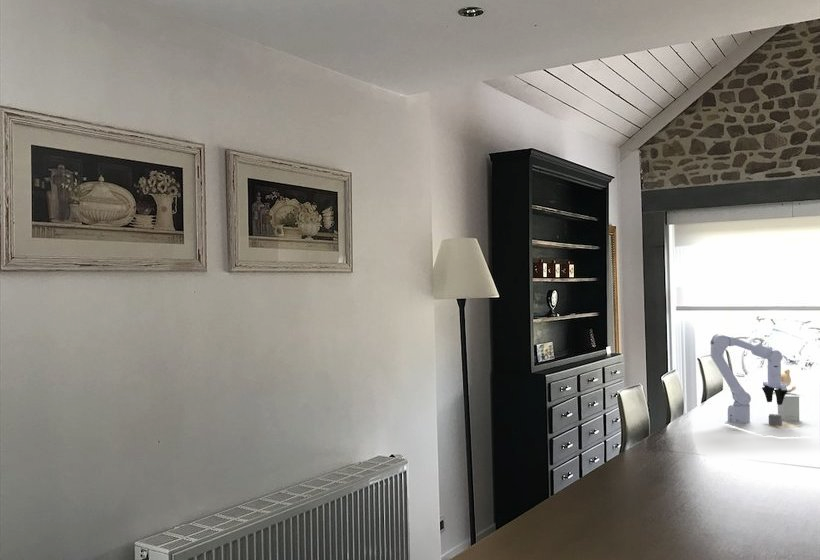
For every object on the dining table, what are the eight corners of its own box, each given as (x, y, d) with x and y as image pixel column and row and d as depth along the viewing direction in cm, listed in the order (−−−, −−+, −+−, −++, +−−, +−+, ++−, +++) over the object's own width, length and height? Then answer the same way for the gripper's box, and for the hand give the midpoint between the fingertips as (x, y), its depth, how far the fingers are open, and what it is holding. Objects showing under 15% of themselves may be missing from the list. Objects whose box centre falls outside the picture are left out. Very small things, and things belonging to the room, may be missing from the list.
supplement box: (799, 422, 366) (799, 396, 366) (784, 422, 366) (784, 396, 366) (792, 419, 374) (792, 394, 374) (777, 419, 374) (777, 394, 374)
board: (776, 430, 348) (776, 427, 348) (763, 426, 358) (763, 423, 358) (802, 429, 351) (802, 426, 351) (788, 424, 361) (788, 422, 361)
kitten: (764, 392, 466) (764, 367, 466) (778, 391, 469) (777, 366, 469) (783, 395, 452) (783, 370, 452) (797, 394, 455) (796, 369, 455)
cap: (767, 424, 357) (767, 414, 357) (772, 423, 360) (772, 413, 360) (778, 426, 353) (778, 416, 353) (783, 424, 356) (783, 415, 356)
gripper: (791, 376, 357) (792, 405, 357) (772, 372, 371) (772, 400, 371) (778, 376, 356) (778, 405, 356) (759, 373, 370) (759, 401, 370)
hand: (774, 403), depth 363 cm, fingers open, 7 cm apart
